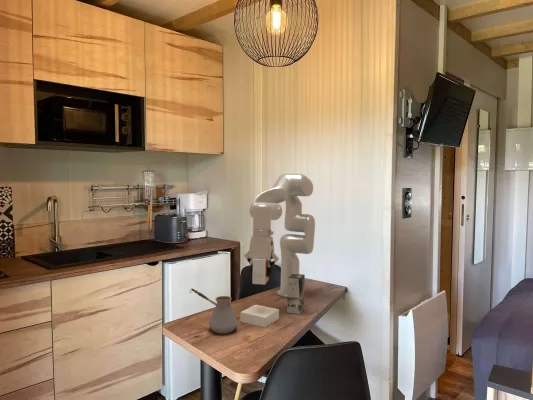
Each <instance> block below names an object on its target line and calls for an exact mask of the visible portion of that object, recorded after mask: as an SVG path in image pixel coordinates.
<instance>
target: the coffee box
mask: <svg viewBox="0 0 533 400" xmlns="http://www.w3.org/2000/svg"><path fill="white" fill-rule="evenodd" d="M305 276H306V275H305V274H301V273H299V274H291V275H290V277H289V278H288V297H287V304H286V305H287V306H286V307H287V308H286V313H288V314H295V315H301V313H302V312H303V310H304V308H305V307H304V306H305V281H306V280H305Z"/></svg>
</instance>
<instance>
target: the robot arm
mask: <svg viewBox="0 0 533 400" xmlns="http://www.w3.org/2000/svg"><path fill="white" fill-rule="evenodd" d="M313 192H314V184H313V182H312V180H311V179H310V178H308V177H307V176H306V175H304V174H303V173H282V174H281V175H279V176H278V178H277V180H276V181H275V183H274V184H273V186H272V187H271V188H268V189H267V190H265V191H263V192H260V193H258V195H256V196H255V198H253V200H252V202H251V204H250V206H249V215H250V217H251V218H253V219H252V220H253V221H252V235H251V237H250V241H249V250H248V251H247V252H246V253H245V254H244V258H245V259H246V261H247V262H248V263H249V265H250V274H251V275H252V276H253V259H254V258H259V259H266V261H267V266H268V267H267V268H266V276H267V277H269V278H270V276H272V270H273V269H272V268H273V266H274V265H275V264H277V262H278V261H279V260H280V258H279V257H278V256H277V254H276V253H275V246H274V245H275V244H274V237H273V236H272V235H274V231H272V221H276V220H278V219H280V218H281V217H282V215H283V207H282V206H281V204H280V203H283V202H285V213H284V229H285V230H286V231H289V232H293V233H286V234H283V235H282V236H281V237H280V239H279V248H280V257H281V261H280V262H281V263H280V289H278V290H277V295H278V296H280V297H284V298H288V278H289V277H290V275H291V274H300V258H299V257H298V255H297V254H304V255H310V254H312V253H313V251H314V244H315V231H316V219H315V217H314V216H313V215H312V214H307V213H302V212H303V211H302V209H303V203H302V202H301V200H300V198H299V197H310V196H311V195H312V194H313ZM294 232H295V233H303V234H294Z"/></svg>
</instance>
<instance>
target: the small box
mask: <svg viewBox="0 0 533 400" xmlns="http://www.w3.org/2000/svg"><path fill="white" fill-rule="evenodd" d="M267 267H268V266H267V261H266V259H259V258H254V259H253V275H252V277H251V278H252V279H251V280H252V284H253V285H266V284H267V283H268V281H269V279H270V276H269V277H267V276H266V268H267Z"/></svg>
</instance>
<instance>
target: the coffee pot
mask: <svg viewBox="0 0 533 400" xmlns="http://www.w3.org/2000/svg"><path fill="white" fill-rule="evenodd" d="M192 292H194V294H197V295H198V296H199V297H201V298H202V299H205V300H206V301H208V302H210V303H211V304H213V306H215V308H214V310H213V312H212V314H211V317H210V319H209V321H208V326H209V328H210V330H212V331H213V332H214V333H216V334H219V335H220V334H221V335H224V334H229V333H232V332H233V331H234V330H235V329H236V328H237V327H238V323H239V322H238V320H237V318H236V315H235V312H234V310H233V308H232V306H231V301H232V297H230V296H228V295H220V296H217V297H215V301H216V302H215V301H213V300H212V299H210V298H209V297H207V295H205V294H204V293H201V292H200V291H198V290H196V289H194V288H191V289H190V290H189V293H190V294H191V293H192Z"/></svg>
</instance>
